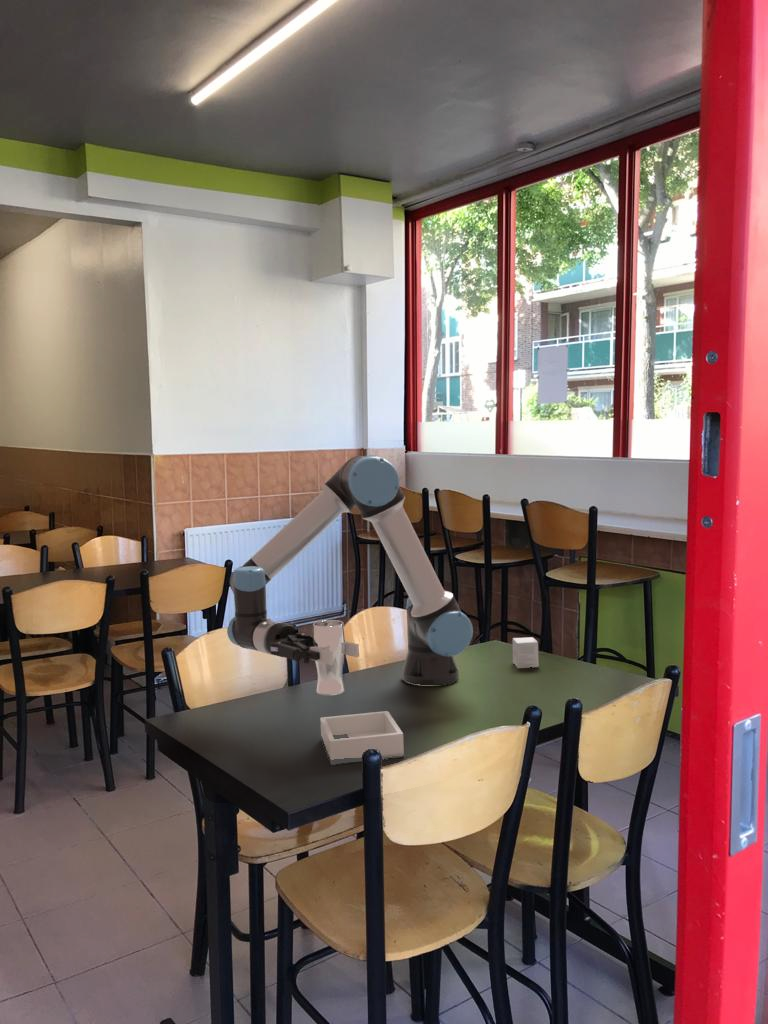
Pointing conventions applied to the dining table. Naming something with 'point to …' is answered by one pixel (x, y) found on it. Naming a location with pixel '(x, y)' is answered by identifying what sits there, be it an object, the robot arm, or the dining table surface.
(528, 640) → the product box
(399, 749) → the tote
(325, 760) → the dining table surface
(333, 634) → the beer glass
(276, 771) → the dining table surface
